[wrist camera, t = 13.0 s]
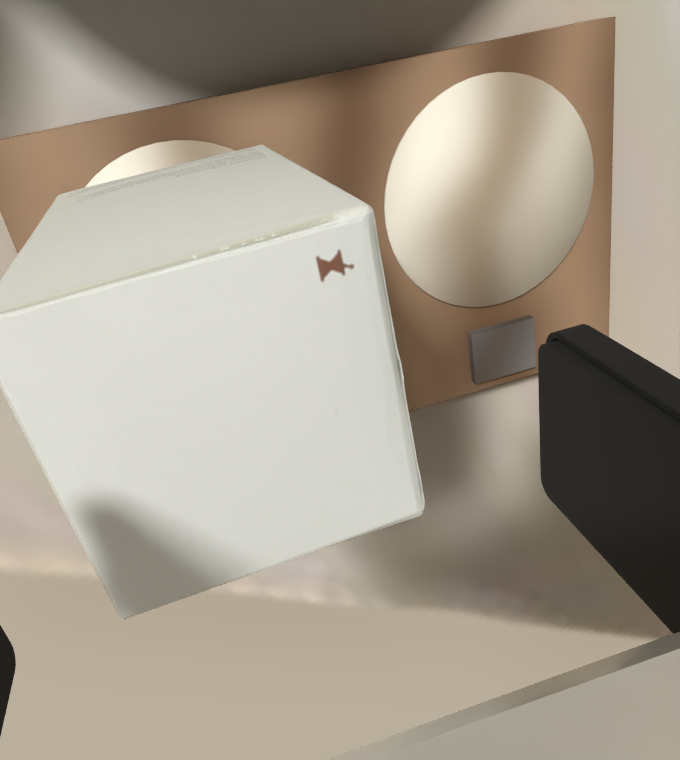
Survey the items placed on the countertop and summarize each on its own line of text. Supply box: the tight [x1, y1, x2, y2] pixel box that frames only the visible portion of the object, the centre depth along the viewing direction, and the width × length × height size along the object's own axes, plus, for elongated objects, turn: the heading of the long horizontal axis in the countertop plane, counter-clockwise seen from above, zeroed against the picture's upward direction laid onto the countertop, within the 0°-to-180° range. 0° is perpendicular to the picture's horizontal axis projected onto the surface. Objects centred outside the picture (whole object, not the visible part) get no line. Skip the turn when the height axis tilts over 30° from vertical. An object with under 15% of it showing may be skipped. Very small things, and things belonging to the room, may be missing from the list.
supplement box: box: [0, 145, 425, 619], centre depth 18 cm, size 7×7×13 cm
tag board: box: [0, 17, 615, 411], centre depth 26 cm, size 23×14×2 cm, turn 100°
